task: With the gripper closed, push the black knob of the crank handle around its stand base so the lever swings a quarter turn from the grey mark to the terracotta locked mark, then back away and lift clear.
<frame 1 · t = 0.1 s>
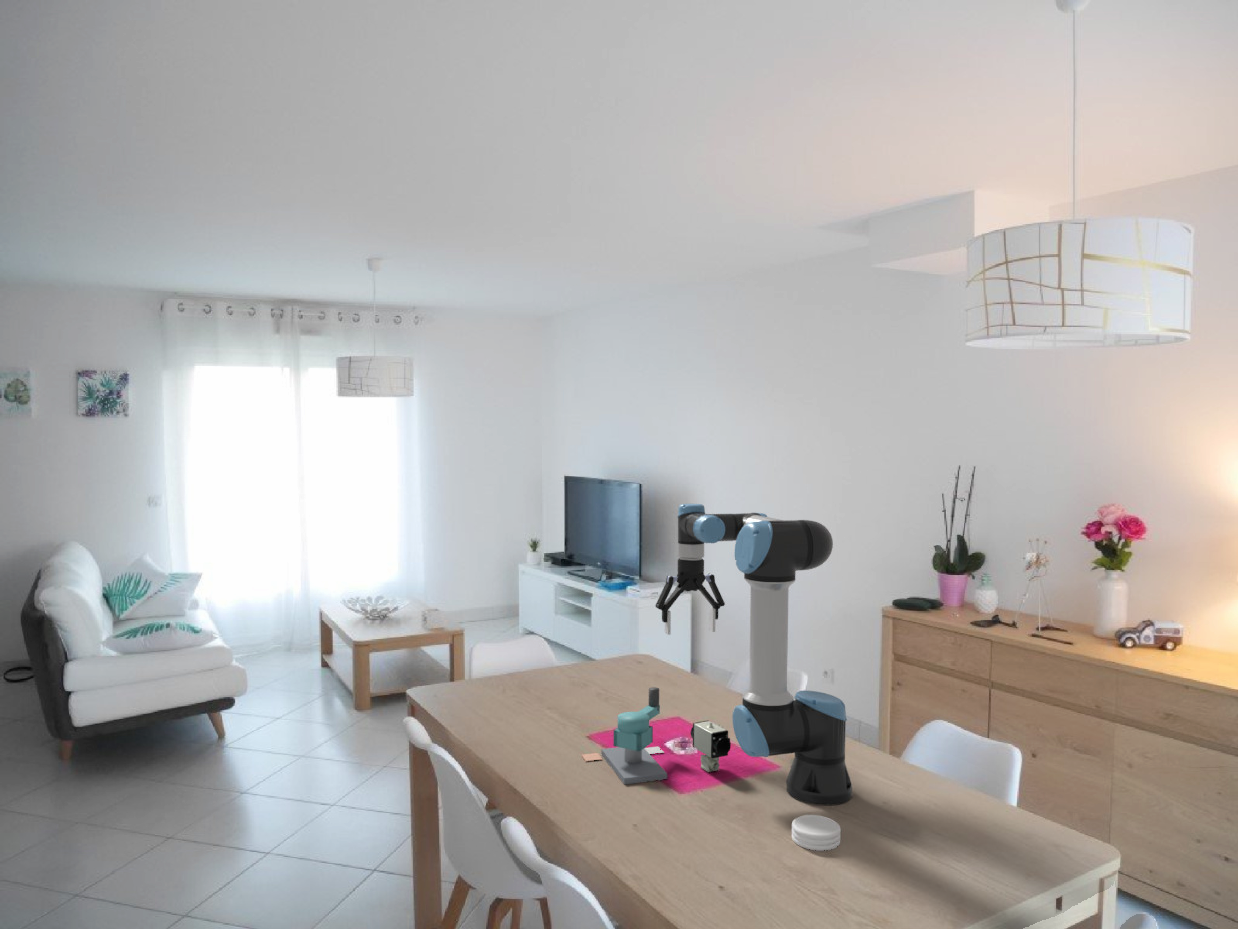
hand: (690, 632, 245), 28 cm above the table, tool pointing down, fingers open, 13 cm apart
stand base: (633, 766, 218), on the table
coaster: (815, 841, 179), on the table
crank handle: (641, 717, 222), point 11 cm above the table, hinge at 0.0°
pneumatic valve: (711, 770, 217), on the table
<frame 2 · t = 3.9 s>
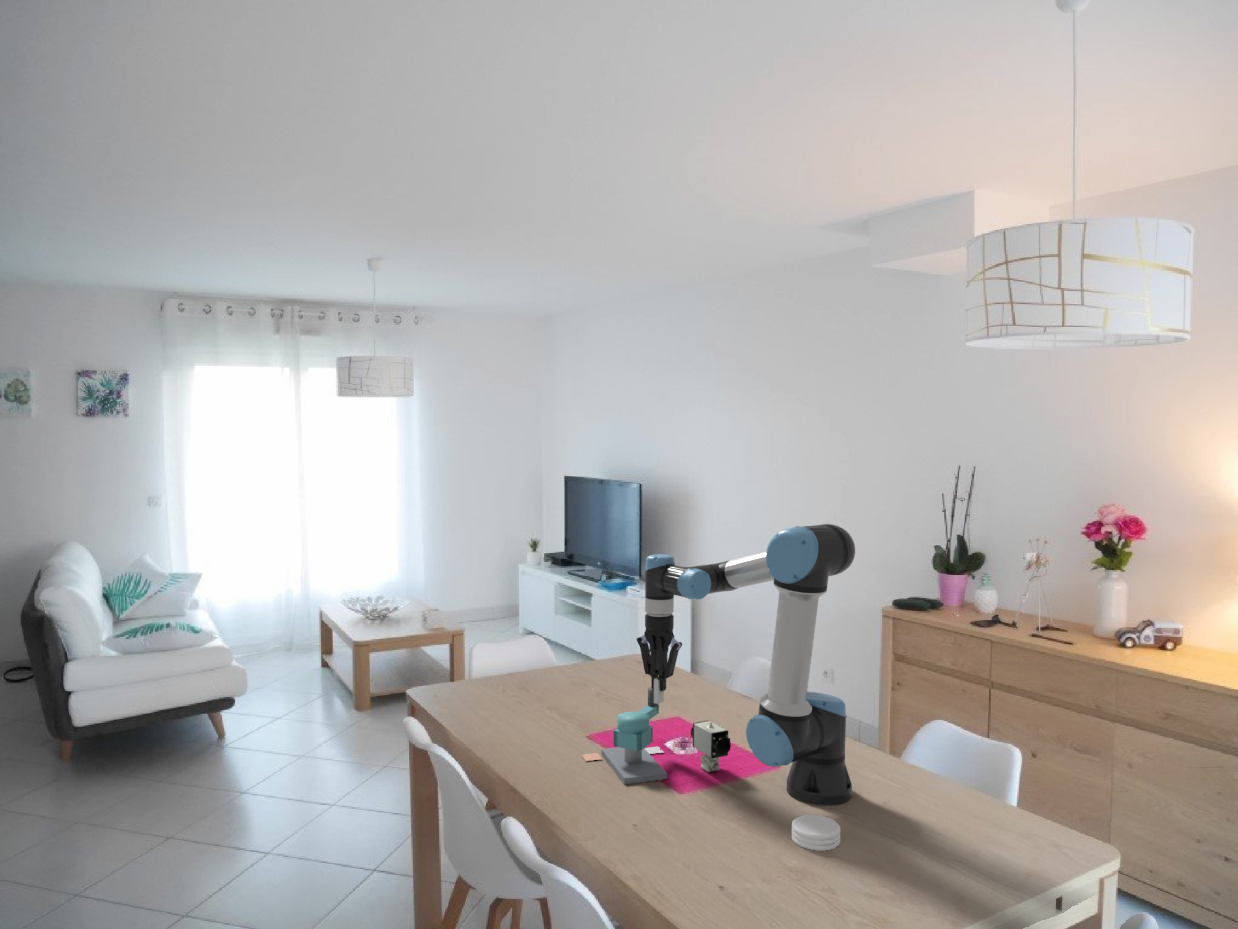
hand: (658, 702, 227), 14 cm above the table, tool pointing down, fingers closed
crank handle: (641, 717, 222), point 11 cm above the table, hinge at 1.2°, touching gripper
everything else where it was.
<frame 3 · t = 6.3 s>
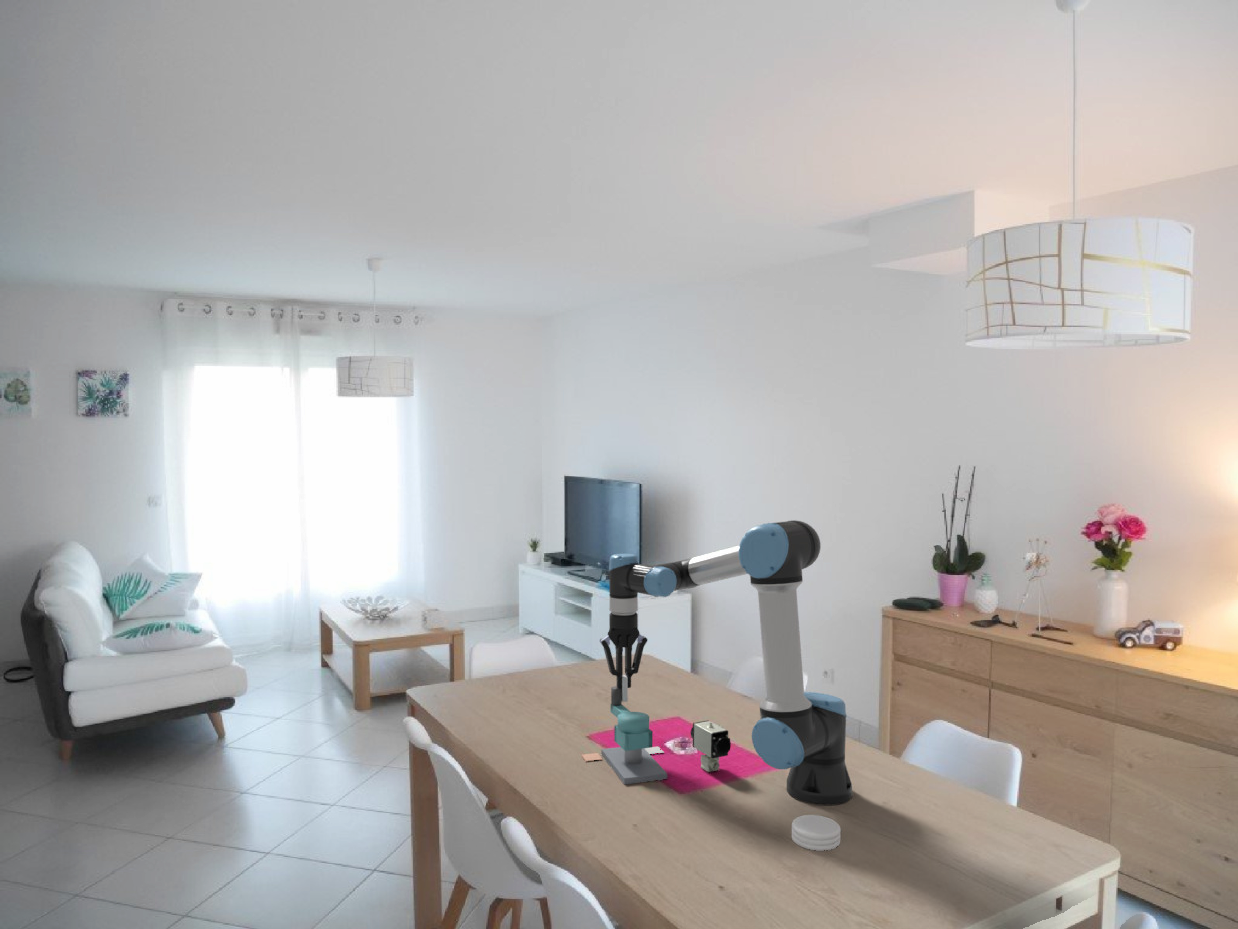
hand: (623, 700, 229), 13 cm above the table, tool pointing down, fingers closed
crank handle: (626, 717, 222), point 11 cm above the table, hinge at 49.2°, touching gripper
everything else where it was.
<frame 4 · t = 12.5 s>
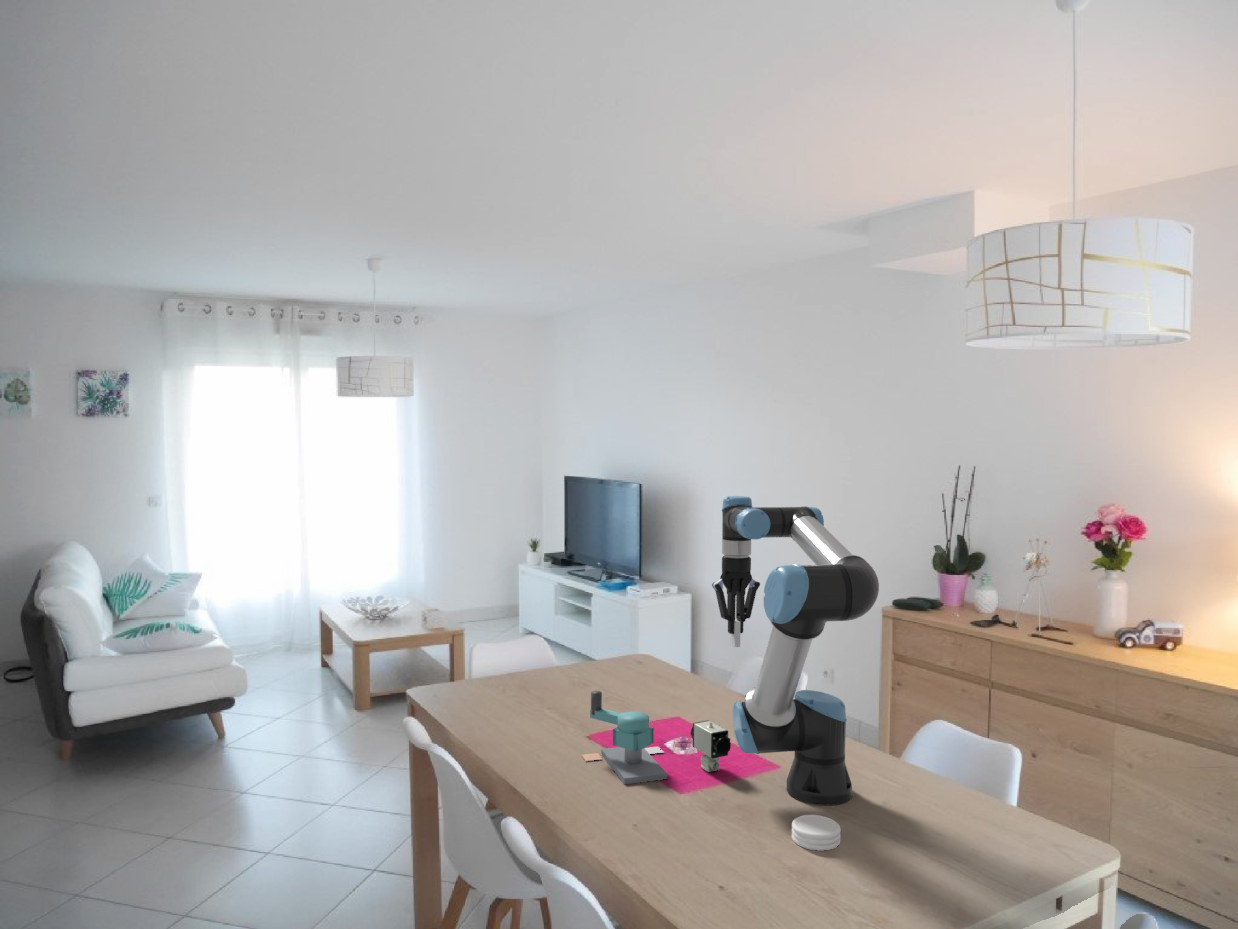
hand: (735, 645, 224), 29 cm above the table, tool pointing down, fingers closed
crank handle: (618, 718, 220), point 11 cm above the table, hinge at 81.1°
everything else where it was.
at the end: crank handle at +81° (first picture: +0°); crank handle touching nothing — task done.
